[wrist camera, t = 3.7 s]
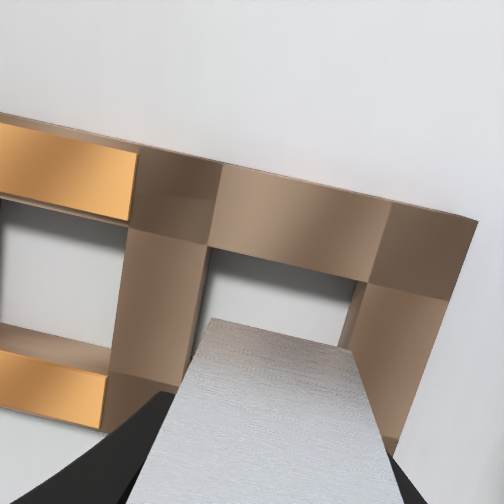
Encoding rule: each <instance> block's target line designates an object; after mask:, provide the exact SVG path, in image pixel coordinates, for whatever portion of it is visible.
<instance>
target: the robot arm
mask: <svg viewBox="0 0 504 504" xmlns="http://www.w3.org/2000/svg"><path fill="white" fill-rule="evenodd" d="M175 396H176V394H173V393H169V392H164V391H159V392H158V393H156V394H155V395H154V396H153V397H151V398H150V399H149V400H148V401H147V402H146V403H145V404H144V405H143V406H142V407H141V408H140V409H139V410H137V411H136V412H135V413H134V414H133V415H132V416H131V417H129V418H128V419H127V420H126V421H125V422H124V423H122V424H121V425H120V426H119V427H118V428H116V429H115V430H114V431H113V432H111V433H110V434H109V435H108V436H106V437H105V438H104V439H103V440H101V441H100V442H99V443H98V444H96V445H95V446H94V447H93V448H91V449H90V450H89V451H87V452H86V453H84V454H83V455H82V456H80V457H79V458H78V459H76V460H75V461H73V462H72V463H71V464H69V465H68V466H66V467H65V468H64V469H62V470H61V471H60V472H58V473H57V474H55V475H54V476H52V477H51V478H49V479H48V480H46V481H45V482H43V483H42V484H40V485H39V486H37V487H36V488H34V489H33V490H31V491H30V492H28V493H26V494H25V495H23V496H22V497H20V498H18V499H17V500H15V501H13V502H12V503H10V504H126V502H127V500H128V498H129V496H130V494H131V492H132V489H133V487H134V485H135V483H136V481H137V478H138V476H139V474H140V472H141V470H142V468H143V465H144V463H145V461H146V459H147V457H148V455H149V452H150V450H151V448H152V446H153V444H154V442H155V439H156V437H157V435H158V433H159V431H160V428H161V426H162V424H163V422H164V420H165V418H166V415H167V413H168V411H169V409H170V407H171V405H172V402H173V400H174V398H175ZM385 450H386V449H385ZM386 453H387V456H388V459H389V461H390V464H391V467H392V470H393V473H394V476H395V479H396V482H397V485H398V488H399V491H400V494H401V496H402V499H403V502H404V504H427V502H426V501H425V500H424V498H423V497H422V496H421V495H420V493H419V492H418V491H417V489H416V488H415V487H414V485H413V484H412V483H411V481H410V480H409V479H408V477H407V476H406V475H405V473H404V472H403V471H402V469H401V468H400V467H399V465H398V464H397V463H396V461H395V460H394V459H393V458H392V456H391V455H390V454H389V452H388V451H387V450H386Z"/></svg>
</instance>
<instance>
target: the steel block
mask: <svg viewBox="0 0 504 504" xmlns="http://www.w3.org/2000/svg"><path fill="white" fill-rule="evenodd" d="M126 504H404V502H403V499H402V496H401V494H400V491H399V488H398V485H397V482H396V479H395V476H394V473H393V470H392V467H391V464H390V461H389V459H388V456H387V453H386V450H385V447H384V444H383V441H382V438H381V435H380V432H379V429H378V427H377V424H376V421H375V418H374V415H373V412H372V409H371V406H370V403H369V400H368V397H367V394H366V392H365V389H364V386H363V383H362V380H361V377H360V374H359V371H358V368H357V365H356V362H355V359H354V357H353V354H352V351H351V350H348V349H343V348H339V347H335V346H331V345H326V344H322V343H318V342H314V341H309V340H305V339H301V338H297V337H292V336H288V335H284V334H280V333H275V332H271V331H267V330H263V329H259V328H254V327H250V326H246V325H242V324H237V323H233V322H229V321H225V320H220V319H216V318H211V320H210V322H209V324H208V326H207V329H206V331H205V333H204V335H203V337H202V339H201V342H200V344H199V346H198V348H197V350H196V352H195V355H194V357H193V359H192V361H191V363H190V365H189V368H188V370H187V372H186V374H185V376H184V379H183V381H182V383H181V385H180V387H179V389H178V392H177V394H176V396H175V398H174V400H173V402H172V405H171V407H170V409H169V411H168V413H167V415H166V418H165V420H164V422H163V424H162V426H161V428H160V431H159V433H158V435H157V437H156V439H155V442H154V444H153V446H152V448H151V450H150V452H149V455H148V457H147V459H146V461H145V463H144V465H143V468H142V470H141V472H140V474H139V476H138V478H137V481H136V483H135V485H134V487H133V489H132V492H131V494H130V496H129V498H128V500H127V502H126Z"/></svg>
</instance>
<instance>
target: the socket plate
mask: <svg viewBox="0 0 504 504" xmlns="http://www.w3.org/2000/svg"><path fill="white" fill-rule="evenodd" d="M0 198H2V199H6V200H10V201H15V202H19V203H23V204H28V205H32V206H36V207H41V208H45V209H49V210H54V211H58V212H62V213H67V214H71V215H75V216H80V217H84V218H88V219H93V220H97V221H101V222H106V223H110V224H114V225H119V226H123V227H128V233H127V241H126V248H125V255H124V262H123V269H122V276H121V284H120V291H119V298H118V305H117V312H116V319H115V327H114V334H113V341H112V348H111V349H109V348H104V347H100V346H96V345H92V344H88V343H83V342H79V341H75V340H71V339H67V338H63V337H58V336H54V335H50V334H46V333H42V332H37V331H33V330H29V329H25V328H21V327H16V326H12V325H8V324H4V323H0V407H2V408H7V409H11V410H15V411H19V412H23V413H27V414H31V415H35V416H39V417H43V418H47V419H52V420H56V421H60V422H64V423H68V424H72V425H76V426H80V427H84V428H88V429H92V430H97V431H101V432H105V433H109V434H110V433H111V432H113V431H114V430H115V429H116V428H118V427H119V426H120V425H121V424H122V423H124V422H125V421H126V420H127V419H128V418H129V417H131V416H132V415H133V414H134V413H135V412H136V411H137V410H139V409H140V408H141V407H142V406H143V405H144V404H145V403H146V402H147V401H148V400H149V399H150V398H151V397H153V396H154V395H155V394H156V393H158V392H159V391H164V392H169V393H173V394H177V392H178V389H179V387H180V385H181V383H182V381H183V379H184V376H185V374H186V372H187V370H188V368H189V364H190V359H191V354H192V349H193V344H194V339H195V333H196V328H197V323H198V318H199V313H200V308H201V303H202V298H203V293H204V288H205V283H206V277H207V272H208V267H209V262H210V257H211V252H212V247H214V248H219V249H223V250H227V251H232V252H236V253H240V254H245V255H249V256H253V257H258V258H262V259H266V260H271V261H275V262H280V263H284V264H288V265H293V266H297V267H301V268H306V269H310V270H314V271H319V272H323V273H327V274H332V275H336V276H340V277H345V278H349V279H353V280H357V283H356V286H355V290H354V293H353V296H352V300H351V303H350V306H349V310H348V313H347V316H346V320H345V323H344V326H343V330H342V333H341V337H340V340H339V343H338V347H339V348H343V349H348V350H351V351H352V354H353V357H354V359H355V362H356V365H357V368H358V371H359V374H360V377H361V380H362V383H363V386H364V389H365V392H366V394H367V397H368V400H369V403H370V406H371V409H372V412H373V415H374V418H375V421H376V424H377V427H378V429H379V432H380V435H381V438H382V441H383V444H384V447H385V449H386V450H387V451H388V452H389V454H390V455H391V456H392V457H393V455H394V452H395V449H396V446H397V444H398V441H399V438H400V435H401V433H402V430H403V427H404V424H405V422H406V419H407V416H408V413H409V411H410V408H411V405H412V402H413V400H414V397H415V394H416V391H417V389H418V386H419V383H420V380H421V378H422V375H423V372H424V370H425V367H426V364H427V361H428V359H429V356H430V353H431V350H432V348H433V345H434V342H435V339H436V337H437V334H438V331H439V328H440V326H441V323H442V320H443V317H444V315H445V312H446V309H447V306H448V304H449V301H450V298H451V295H452V293H453V290H454V287H455V285H456V282H457V279H458V276H459V274H460V271H461V268H462V265H463V263H464V260H465V257H466V254H467V252H468V249H469V246H470V243H471V241H472V238H473V235H474V232H475V230H476V227H477V224H478V221H476V220H473V219H470V218H467V217H463V216H460V215H456V214H452V213H447V212H443V211H438V210H434V209H430V208H425V207H421V206H416V205H412V204H407V203H403V202H398V201H394V200H389V199H385V198H381V197H376V196H372V195H367V194H363V193H358V192H354V191H349V190H345V189H340V188H336V187H331V186H327V185H323V184H318V183H314V182H309V181H305V180H300V179H296V178H291V177H287V176H282V175H278V174H274V173H269V172H265V171H260V170H256V169H251V168H247V167H242V166H238V165H233V164H229V163H225V162H220V161H216V160H211V159H207V158H202V157H198V156H193V155H189V154H184V153H180V152H176V151H171V150H167V149H162V148H158V147H153V146H149V145H144V144H140V143H135V142H131V141H126V140H122V139H118V138H113V137H109V136H104V135H100V134H95V133H91V132H86V131H82V130H77V129H73V128H69V127H64V126H60V125H55V124H51V123H46V122H42V121H37V120H33V119H28V118H24V117H20V116H15V115H11V114H6V113H2V112H0Z"/></svg>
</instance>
